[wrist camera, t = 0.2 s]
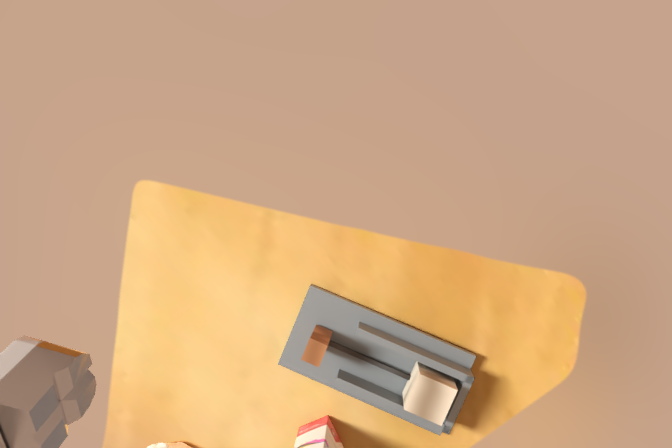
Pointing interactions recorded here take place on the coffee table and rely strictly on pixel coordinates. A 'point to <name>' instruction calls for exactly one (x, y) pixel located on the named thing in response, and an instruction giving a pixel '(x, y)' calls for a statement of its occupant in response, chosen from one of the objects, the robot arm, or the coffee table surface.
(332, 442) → the ink cartridge box
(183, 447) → the bust
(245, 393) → the coffee table surface
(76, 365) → the robot arm
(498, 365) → the coffee table surface
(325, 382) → the grey slotted base
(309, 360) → the block
